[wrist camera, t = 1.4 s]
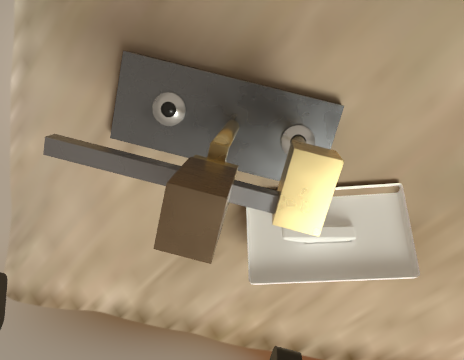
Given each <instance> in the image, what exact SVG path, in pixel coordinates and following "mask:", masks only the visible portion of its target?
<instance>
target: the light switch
mask: <svg viewBox="0 0 464 360" xmlns="http://www.w3.org/2000/svg"><path fill="white" fill-rule="evenodd" d="M385 186H399V188H400V190H399V192H397V193H384V194H368V195H352V196H336V197H332V199H331V202H330V205H329V208H328V211H327V214H326V217H325V220H324V223H323V226H322V229H321V232H320V235H319V237H318V236H314V235H310V234H306V233H302V232H298V231H295V230H291V229H287V228H283V227H279V226H275V225H272V213H269V212H265V211H261V210H257V209H253V208H249V207H246V217H247V244H248V271H249V282H250V284H252V285H260V284H285V283H309V282H334V281H359V280H384V279H409V278H416V277H418V276H420V270H419V265H418V260H417V255H416V250H415V245H414V240H413V235H412V230H411V225H410V220H409V215H408V210H407V205H406V200H405V195H404V190H403V186H402V184H400V183H393V184H378V185H363V186H348V187H335V190H340V189H355V188H370V187H385ZM348 240H350V241H348Z"/></svg>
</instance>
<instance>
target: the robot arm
mask: <svg viewBox="0 0 464 360" xmlns="http://www.w3.org/2000/svg"><path fill="white" fill-rule="evenodd" d="M6 292H7V276H6V274H4V273H0V329H1V327H2V324H3V321H4V316H5V303H6ZM270 360H302V356H301V353H300V352H296V351H293V350H289V349H285V348H281V347H277V346H275V347H274V349H273V351H272V354H271V357H270Z"/></svg>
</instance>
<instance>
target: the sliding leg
mask: <svg viewBox="0 0 464 360" xmlns="http://www.w3.org/2000/svg"><path fill="white" fill-rule="evenodd" d="M238 130H239V124H238V122H237V121H235V120H230V121H228V122H227V123H226V125H225V126H224V127H223V128H222V130H221V131H220V132H219V133H218V135H217V136H216V137H215V138H214V140H212V141H211V143H210V147H209V152H208V156H207V157H203V156H199V155H194V157H190V158H189V159H188V160H187V161H186V162H185V163H184V164H183V165H182V166H181V168H180V169H179V170H178V171H177V172H176V173H175V174H174V175H173V176H172V177H171V179H170V180H169V181H168V182H167V184H166V189H165V194H164V199H163V204H162V209H161V214H160V219H159V224H158V229H157V234H156V239H155V244H154V249H156V250H160V251H164V252H168V253H171V254H175V255H179V256H183V257H187V258H191V259H194V260H198V261H202V262H206V263H210V264H211V262H212V259H213V255H214V252H215V249H216V246H217V242H218V239H219V236H220V232H221V229H222V226H223V222H224V219H225V215H226V212H227V209H228V205H229V199H230V195H231V191H232V187H233V183H234V180H235V176H236V173H237V169H238V165H235V164H231V163H227V162H226V159H227V155H228V151H229V147H230V145H231V143H232V142H233V140H234V138H235V136H236V134H237V132H238Z"/></svg>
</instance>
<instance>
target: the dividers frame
mask: <svg viewBox="0 0 464 360" xmlns="http://www.w3.org/2000/svg"><path fill="white" fill-rule="evenodd" d="M43 155H47V156H51V157H55V158H59V159H63V160H67V161H70V162H74V163H78V164H82V165H86V166H90V167H94V168H98V169H102V170H105V171H109V172H113V173H117V174H121V175H125V176H129V177H133V178H136V179H140V180H144V181H148V182H152V183H156V184H160V185H164V186H166V184H167V182H168V181H169V180H170V179H171V177H172V176H173V175H174V174H175V173H176V172H177V171H178V170H179V169H180V168H181V166H178V165H174V164H170V163H167V162H163V161H159V160H155V159H151V158H147V157H143V156H139V155H135V154H131V153H127V152H124V151H120V150H116V149H112V148H108V147H104V146H100V145H96V144H92V143H88V142H84V141H81V140H77V139H73V138H69V137H65V136H61V135H57V134H53V135H50V136H46V137H45V144H44V154H43ZM343 163H344V160H343V159H342V158H341V157H340V155H339V154H338V153H337V152H336V151H334V150H331V149H327V148H323V147H319V146H315V145H311V144H307V143H306V142H305V140H304V138H303V137H302V136H295V137H294V138H293V139H292V141H291V144H290V148H289V151H288V155H287V158H286V162H285V165H284V169H283V172H282V176H281V179H280V183H279V186H278V190H277V191H276V190H272V189H268V188H264V187H260V186H256V185H252V184H249V183H245V182H241V181H237V180H234V183H233V187H232V191H231V195H230V199H229V202H230V203H234V204H237V205H241V206H245V207H249V208H253V209H257V210H261V211H265V212H269V213H272V225H275V226H279V227H283V228H287V229H291V230H295V231H298V232H302V233H306V234H310V235H314V236H318V237H319V235H320V232H321V229H322V226H323V223H324V220H325V217H326V214H327V211H328V208H329V205H330V202H331V199H332V196H333V193H334V190H335V187H336V184H337V181H338V178H339V175H340V172H341V169H342V166H343Z"/></svg>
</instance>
